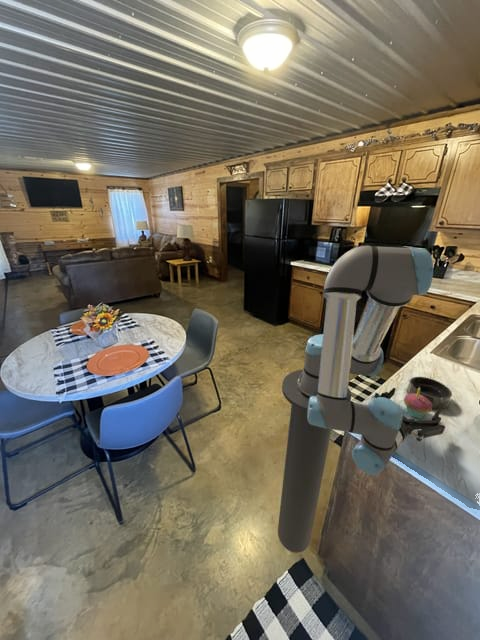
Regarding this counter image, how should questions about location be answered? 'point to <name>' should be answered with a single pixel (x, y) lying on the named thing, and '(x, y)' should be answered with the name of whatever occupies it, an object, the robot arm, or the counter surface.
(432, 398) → the dark round bowl
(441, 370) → the counter surface
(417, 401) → the cupcake
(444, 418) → the counter surface
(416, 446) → the counter surface
